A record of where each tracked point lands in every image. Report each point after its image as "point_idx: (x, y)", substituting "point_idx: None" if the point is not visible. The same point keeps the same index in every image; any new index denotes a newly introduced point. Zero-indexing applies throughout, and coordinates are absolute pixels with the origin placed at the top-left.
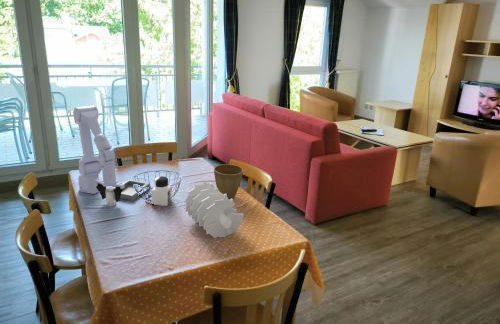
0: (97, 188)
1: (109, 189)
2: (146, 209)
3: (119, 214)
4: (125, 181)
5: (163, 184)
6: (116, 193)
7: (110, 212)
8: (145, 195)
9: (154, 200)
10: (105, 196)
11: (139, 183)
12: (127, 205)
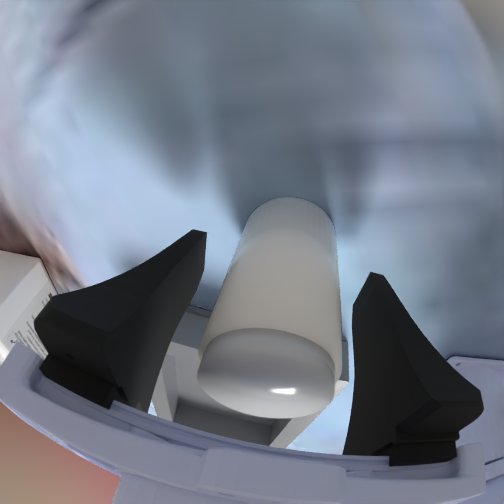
0: (462, 385)
1: (268, 385)
2: (24, 198)
3: (116, 60)
4: (284, 444)
5: None
6: (109, 288)
7: (215, 67)
8: None
9: (12, 273)
10: (357, 312)
11: (209, 428)
12: (143, 232)
